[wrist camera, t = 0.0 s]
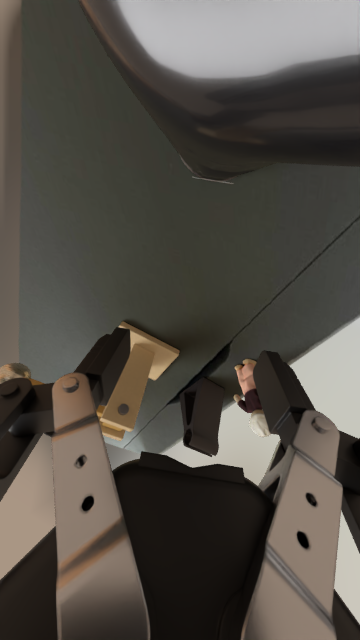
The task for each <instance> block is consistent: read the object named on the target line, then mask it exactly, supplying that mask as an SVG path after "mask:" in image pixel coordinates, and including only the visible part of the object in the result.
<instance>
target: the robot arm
mask: <svg viewBox="0 0 360 640" xmlns="http://www.w3.org/2000/svg"><path fill="white" fill-rule="evenodd" d="M78 2H79V4H80V6H81V8H82V10H83V12H84V14H85V16H86V18H87V20H88V22H89V24H90V26H91V27H92V29H93V31H94V32H95V34H96V36H97V38H98V39H99V41H100V43H101V45H102V46H103V48H104V50H105V52H106V53H107V55H108V56H109V58H110V60H111V61H112V63H113V64H114V66H115V67H116V69H117V70H118V72H119V73H120V75H121V76H122V78H123V79H124V81H125V82H126V84H127V85H128V87H129V88H130V89H131V91H132V92H133V93H134V95H135V96H136V97H137V99H138V100H139V101H140V103H141V104H142V105H143V107H144V108H145V109H146V111H147V112H148V113H149V115H150V116H151V117H152V119H153V120H154V121H155V123H156V124H157V125H158V127H159V128H160V129H161V130H162V132H163V133H164V134H165V136H166V137H167V138H168V140H169V141H170V142H171V144H172V145H173V147H174V148H175V149H176V151H177V152H178V153H179V155H180V157H181V159H182V160H183V162H184V163H185V165H186V166H187V167H188V168H189V169H190V171H191V172H193V173H194V174H195V175H197V176H198V177H200V178H199V179H204V180H207V181H213V182H221V181H226V180H229V179H232V178H234V177H236V176H238V175H242V174H245V173H248V172H251V171H254V170H257V169H260V168H263V167H266V166H269V165H272V164H276V163H296V164H314V165H331V166H353V167H360V0H78ZM193 178H196V177H193ZM224 183H228V182H224ZM231 184H234V183H231ZM130 351H131V339H130V329H126V328H120V327H116V329H115V330H114V331H113V333H112V334H111V335H109V334H106V335H104V336H103V337H101V338H100V339H98V341H97V342H96V343H95V345H94V346H93V347H92V349H91V350H90V352H89V353H88V354H87V355H86V357H85V358H84V359H83V361H82V362H81V363H80V365H79V366H78V367H77V368H76V370H75V371H74V372H73V373H69V374H66V375H64V376H62V377H61V378H59V379H58V380H57V381H56V382H55V383H49V384H40V385H32V383H31V381H30V380H29V379H27V378H13V379H10V380H7V381H5V382H3V383H1V384H0V501H1V500H2V498H3V496H4V495H5V493H6V492H7V490H8V488H9V487H10V485H11V484H12V482H13V480H14V479H15V477H16V476H17V474H18V472H19V471H20V469H21V468H22V466H23V464H24V463H25V461H26V460H27V458H28V457H29V455H30V453H31V452H32V450H33V449H34V447H35V445H36V444H37V442H38V440H39V439H40V437H41V436H42V434H43V433H45V432H50V431H54V434H52V460H53V481H54V499H55V518H56V526H55V527H54V528H53V529H52V530H51V531H50V532H49V533H48V534H47V535H46V536H45V537H44V538H43V539H42V540H41V541H40V542H39V543H38V544H37V545H36V546H35V547H34V548H33V549H32V550H31V551H29V553H27V554H26V555H25V557H24V558H22V559H21V560H20V561H19V562H18V563H17V564H16V565H15V566H14V567H13V568H12V569H11V570H10V571H9V572H8V573H7V574H6V575H5V576H4V577H3V578H2V579H1V580H0V640H360V624H359V623H358V622H357V620H356V619H355V617H354V616H353V615H352V613H351V612H350V610H349V609H348V608H347V606H346V605H345V603H344V602H343V600H342V599H341V598H340V596H339V595H338V593H337V592H336V591H335V589H334V581H335V570H336V560H337V548H338V538H339V527H340V515H341V510H342V512H343V515H344V517H345V520H346V522H347V524H348V527H349V529H350V532H351V534H352V536H353V539H354V541H355V543H356V546H357V548H358V551H359V553H360V438H359V439H358V438H355V437H353V436H351V435H348V434H346V433H344V432H342V431H339V430H338V429H337V427H336V426H335V424H334V423H333V422H332V421H331V420H330V419H329V418H327V417H326V416H325V415H324V414H322V413H320V412H318V411H316V410H315V408H314V406H313V405H312V403H311V401H310V399H309V397H308V396H307V394H306V393H305V391H304V389H303V387H302V386H301V383H300V381H299V380H298V379H297V376H296V374H295V373H294V371H293V369H292V368H290V366H289V365H288V364H287V363H286V362H283V361H282V359H281V358H280V356H279V354H278V353H277V352H271V351H265V350H264V351H262V352H261V354H260V356H259V358H258V361H257V363H256V365H255V367H254V369H253V379H254V383H255V386H256V389H257V393H258V396H259V399H260V402H261V406H262V409H263V412H264V415H265V419H266V422H267V425H268V429H269V432H270V433H271V434H277V435H279V436H280V439H281V440H280V441H279V443H278V445H277V447H276V450H275V452H274V454H273V457H272V459H271V462H270V464H269V466H268V469H267V471H266V473H265V475H264V477H263V479H262V480H261V482H260V484H259V486H257V485H256V484H254V483H253V482H251V481H250V480H249V479H247V478H245V477H244V473H243V468H239V467H234V466H228V465H221V464H214V465H208V466H201V467H195V468H192V467H189V466H187V465H185V464H183V463H181V462H178V461H177V460H175V459H173V458H170V457H168V456H167V455H161V454H155V453H149V452H143V451H142V452H141V456H140V459H136V460H132V461H129V462H127V463H124V464H122V465H120V466H119V467H117V468H116V469H114V470H113V471H112V469H111V465H110V461H109V457H108V454H107V449H106V446H105V442H104V438H103V434H102V430H101V426H100V422H99V418H98V415H97V412H96V411H97V409H98V407H99V405H102V406H107V404H108V401H109V399H110V397H111V395H112V393H113V391H114V389H115V386H116V384H117V382H118V380H119V378H120V376H121V374H122V371H123V369H124V367H125V365H126V363H127V361H128V359H129V356H130Z"/></svg>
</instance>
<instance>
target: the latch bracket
mask: <svg viewBox="0 0 360 640" xmlns="http://www.w3.org/2000/svg"><path fill="white" fill-rule="evenodd" d="M119 327H120V328H126V329H130V339H131V351H130V356H129V359H128V361H127V363H126V365H125V367H124V369H123V371H122V374H121V376H120V378H119V380H118V382H117V384H116V386H115V389H114V391H113V393H112V395H111V397H110V399H109V401H108V404H107V406H104V407H105V409H104V411H103V414H102V416H101V417H100V416H98V418H99V422H100V426H101V430H102V434H103V435H104V436H107V437H110V438H113V439H116V440H119V441H121V440H122V439H123V436H124V433H125V430H127V431H129V432H131V431H132V430H133V429H134V425H135V422H136V418H137V415H138V411H139V408H140V404H141V401H142V397H143V394H144V391H145V387H146V384H147V380H148V378H151V379H153V380H156V379H157V378H158V377H159V376H160V375H161V374H162V373H163V371H164V370H165V369H166V368H167V367H168V366H169V365H170V364H171V363H172V362H173V361H174V360H175V359H176V358H177V356H178V355H179V350H178V349H176V348H174V347H172V346H170V345H168V344H166V343H164V342H162V341H160V340H158V339H156V338H154V337H152V336H150V335H148V334H146V333H144V332H143V331H141V330H139V329H137V328H135V327H133V326H131V325H129V324H127V323H125V322H123V321H122V322H121V324H120V326H119ZM103 422H105V423H107V424H110V425H113V426H116V427H118V428H121V429H122V430H121V431H120V432H119V431H117V430H114V429H111V428H108V427H105V426H103V425H102V423H103Z"/></svg>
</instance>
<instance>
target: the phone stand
mask: <svg viewBox="0 0 360 640" xmlns="http://www.w3.org/2000/svg"><path fill="white" fill-rule="evenodd" d="M224 391H225V389H224V388H222V387H220V386H218V385H217V384H215V383H213V382H211V381H209V380H207V379H206V378H204V377H202V378H201V379H200V380H198V381H197V382H196V383H194V384H193V385H192V386H190V387H189V388H187V389H186V390H185V391H183V392H182V393H181V394H180V403H181V410H182V418H183V425H184V437H183V443H184V446H186V447H188V448H191V449H193V450H196V451H198V452H200V453H203V454H206V455H208V456H210V457H212V455H215V456H216V454H217V452H218V448H219V445H218V431H219V424H220V417H221V411H222V404H223V398H224ZM211 454H212V455H211Z"/></svg>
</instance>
